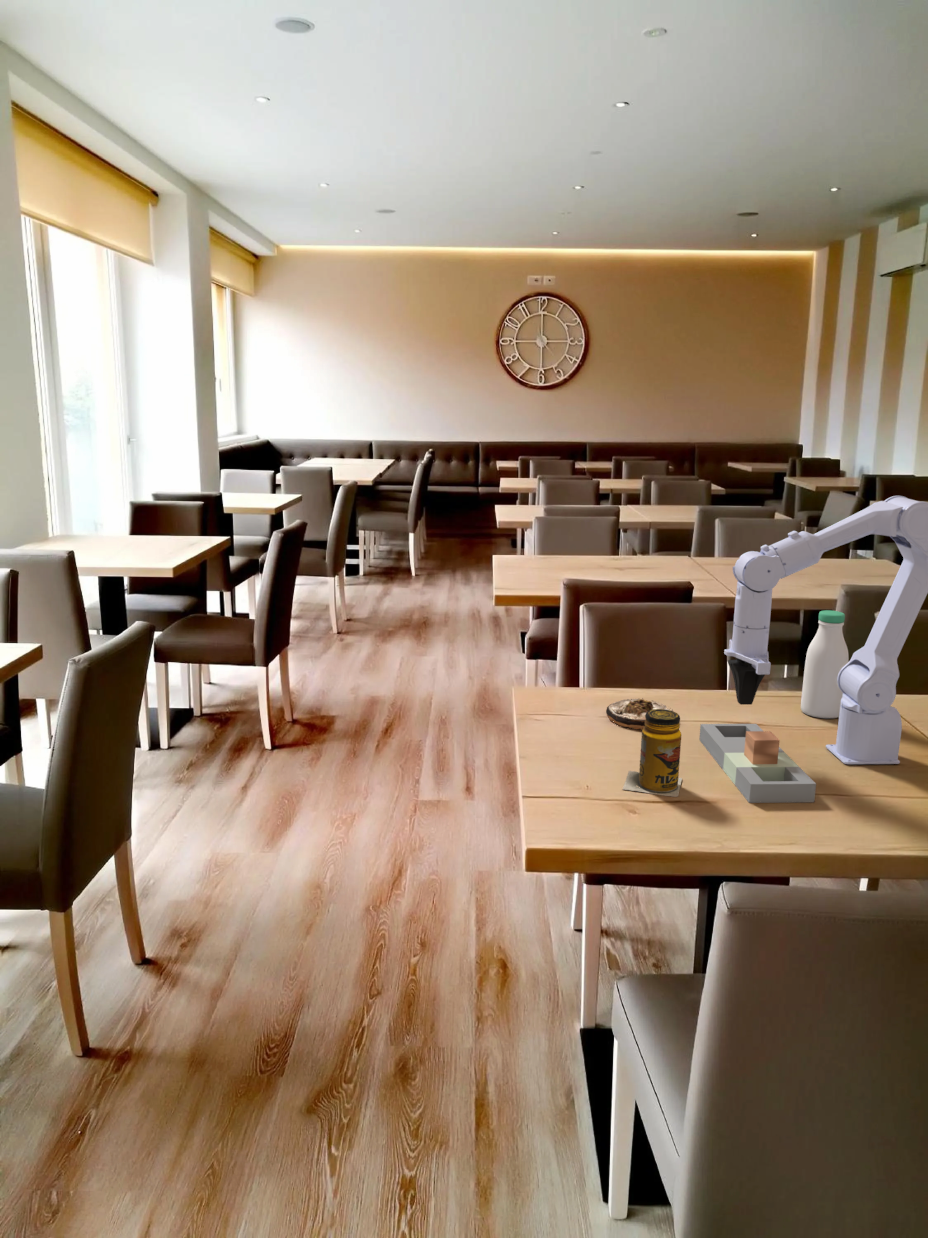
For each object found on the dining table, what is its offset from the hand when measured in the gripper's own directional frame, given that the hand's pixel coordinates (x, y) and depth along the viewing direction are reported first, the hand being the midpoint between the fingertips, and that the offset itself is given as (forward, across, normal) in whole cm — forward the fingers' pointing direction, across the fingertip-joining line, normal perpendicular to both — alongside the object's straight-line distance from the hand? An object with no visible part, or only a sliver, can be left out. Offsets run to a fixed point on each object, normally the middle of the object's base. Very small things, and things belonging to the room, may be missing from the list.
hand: (744, 703), depth 158 cm
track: (+9, +6, 0) cm, 11 cm away
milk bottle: (+10, -21, +23) cm, 32 cm away
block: (+6, +9, 0) cm, 11 cm away
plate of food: (+10, -18, -13) cm, 24 cm away
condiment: (+10, +12, -18) cm, 24 cm away
